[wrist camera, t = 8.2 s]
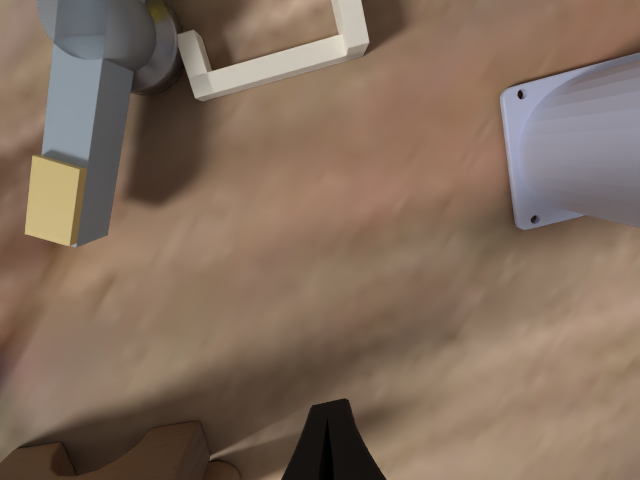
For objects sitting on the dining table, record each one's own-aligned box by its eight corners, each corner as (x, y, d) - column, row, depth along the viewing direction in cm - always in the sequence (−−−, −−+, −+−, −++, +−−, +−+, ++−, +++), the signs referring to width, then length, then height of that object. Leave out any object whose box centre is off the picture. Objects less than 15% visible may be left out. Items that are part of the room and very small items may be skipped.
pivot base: (167, -23, 18) (151, -41, 16) (200, 81, 19) (188, 74, 17) (75, 5, 18) (50, -9, 16) (113, 106, 19) (94, 101, 17)
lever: (200, -216, 14) (169, -312, 11) (122, 239, 19) (86, 255, 16) (112, -251, 14) (56, -358, 11) (55, 220, 19) (6, 233, 16)
